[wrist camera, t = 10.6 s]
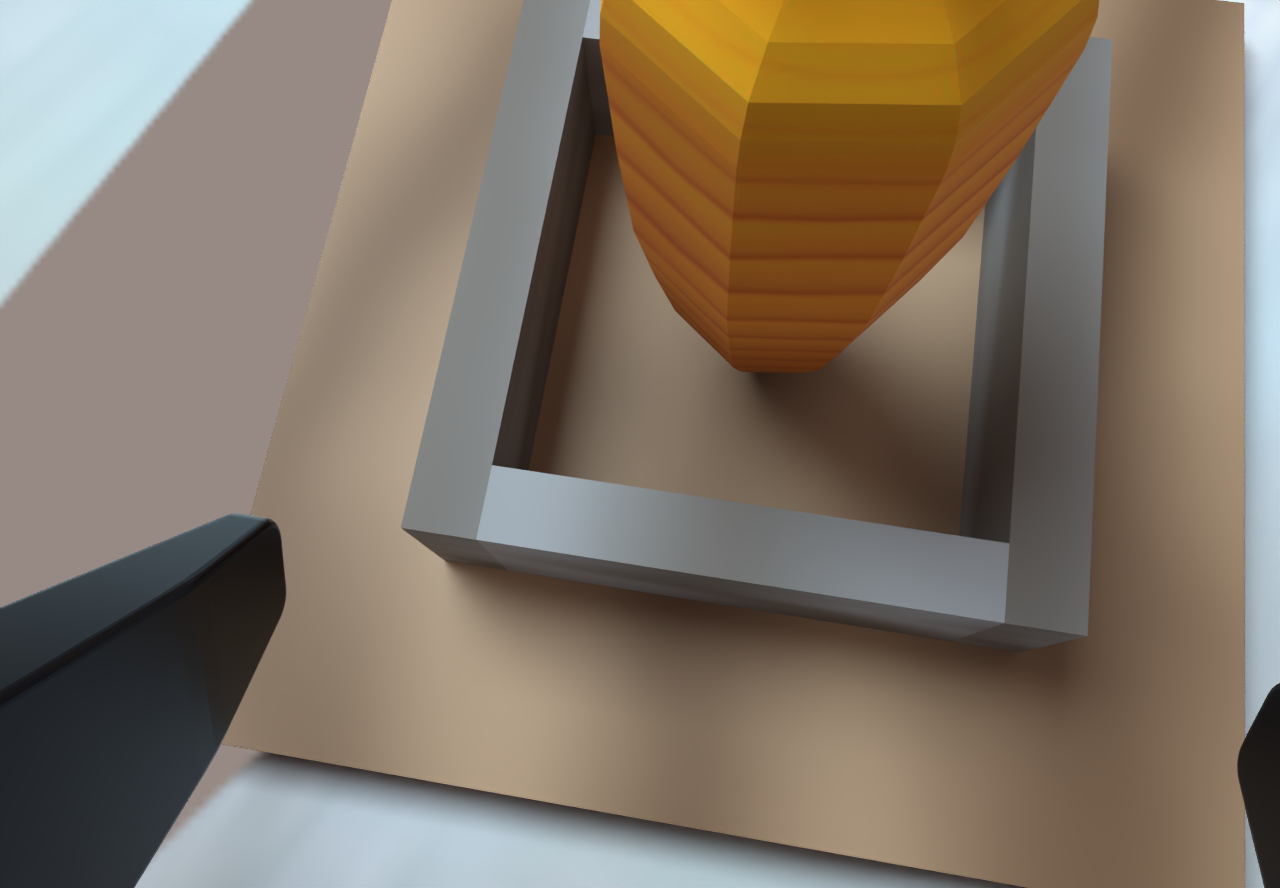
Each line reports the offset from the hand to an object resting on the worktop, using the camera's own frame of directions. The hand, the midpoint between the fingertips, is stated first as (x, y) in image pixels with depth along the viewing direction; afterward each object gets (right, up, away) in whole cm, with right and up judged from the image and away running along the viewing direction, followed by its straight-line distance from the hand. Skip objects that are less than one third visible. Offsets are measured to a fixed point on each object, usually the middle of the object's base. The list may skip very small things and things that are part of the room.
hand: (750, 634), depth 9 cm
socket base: (+1, +3, +11) cm, 12 cm away
